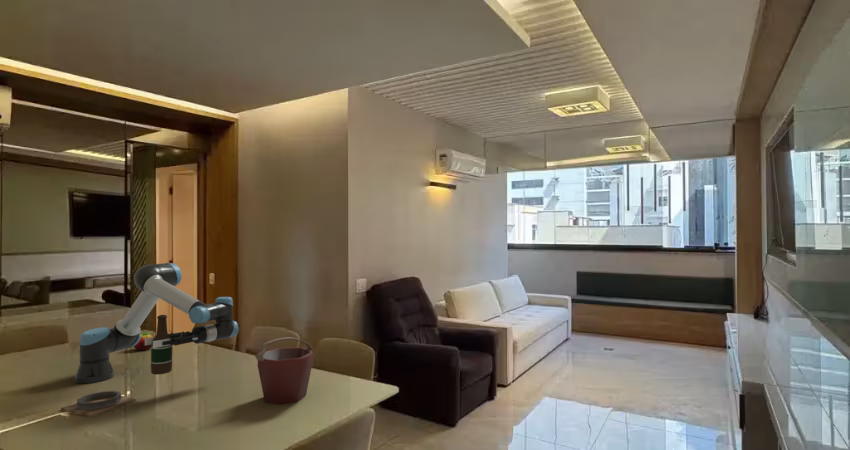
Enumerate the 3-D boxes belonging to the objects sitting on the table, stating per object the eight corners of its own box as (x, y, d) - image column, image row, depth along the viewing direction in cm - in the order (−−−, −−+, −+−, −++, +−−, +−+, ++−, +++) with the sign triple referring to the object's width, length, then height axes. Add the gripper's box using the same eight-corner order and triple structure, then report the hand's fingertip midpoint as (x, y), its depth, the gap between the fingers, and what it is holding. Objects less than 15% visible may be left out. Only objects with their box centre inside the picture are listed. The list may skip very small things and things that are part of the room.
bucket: (257, 411, 179) (257, 346, 179) (250, 394, 198) (250, 336, 199) (319, 400, 190) (319, 340, 190) (307, 385, 209) (307, 330, 210)
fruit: (128, 351, 272) (129, 334, 273) (142, 347, 283) (143, 330, 283) (144, 352, 271) (144, 335, 271) (158, 347, 281) (158, 331, 282)
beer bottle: (162, 375, 190) (163, 317, 190) (146, 374, 191) (147, 316, 192) (176, 369, 197) (176, 314, 198) (160, 368, 199) (161, 313, 199)
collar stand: (60, 410, 180) (60, 401, 180) (107, 395, 197) (107, 387, 197) (90, 417, 173) (90, 407, 173) (136, 401, 190) (136, 392, 190)
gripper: (214, 345, 203) (159, 356, 184) (193, 339, 215) (139, 348, 196) (215, 328, 203) (159, 337, 185) (193, 323, 215) (139, 331, 197)
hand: (149, 343), depth 191 cm, fingers closed on beer bottle, 7 cm apart
